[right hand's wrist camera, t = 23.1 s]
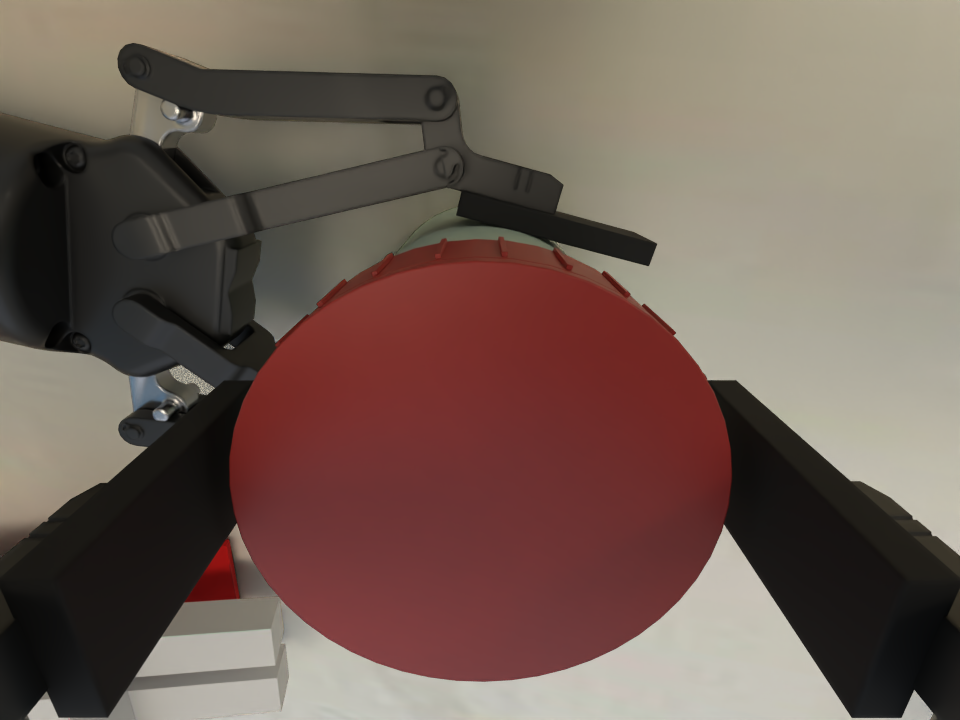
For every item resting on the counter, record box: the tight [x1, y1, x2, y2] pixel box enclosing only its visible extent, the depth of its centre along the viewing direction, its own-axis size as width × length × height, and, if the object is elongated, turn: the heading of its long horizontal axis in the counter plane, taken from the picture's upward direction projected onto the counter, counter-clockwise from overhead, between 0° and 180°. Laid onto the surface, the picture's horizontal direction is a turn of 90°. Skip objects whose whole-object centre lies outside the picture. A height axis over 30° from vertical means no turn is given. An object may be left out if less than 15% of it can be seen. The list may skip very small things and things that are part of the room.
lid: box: [229, 236, 732, 682], centre depth 11 cm, size 10×10×2 cm
